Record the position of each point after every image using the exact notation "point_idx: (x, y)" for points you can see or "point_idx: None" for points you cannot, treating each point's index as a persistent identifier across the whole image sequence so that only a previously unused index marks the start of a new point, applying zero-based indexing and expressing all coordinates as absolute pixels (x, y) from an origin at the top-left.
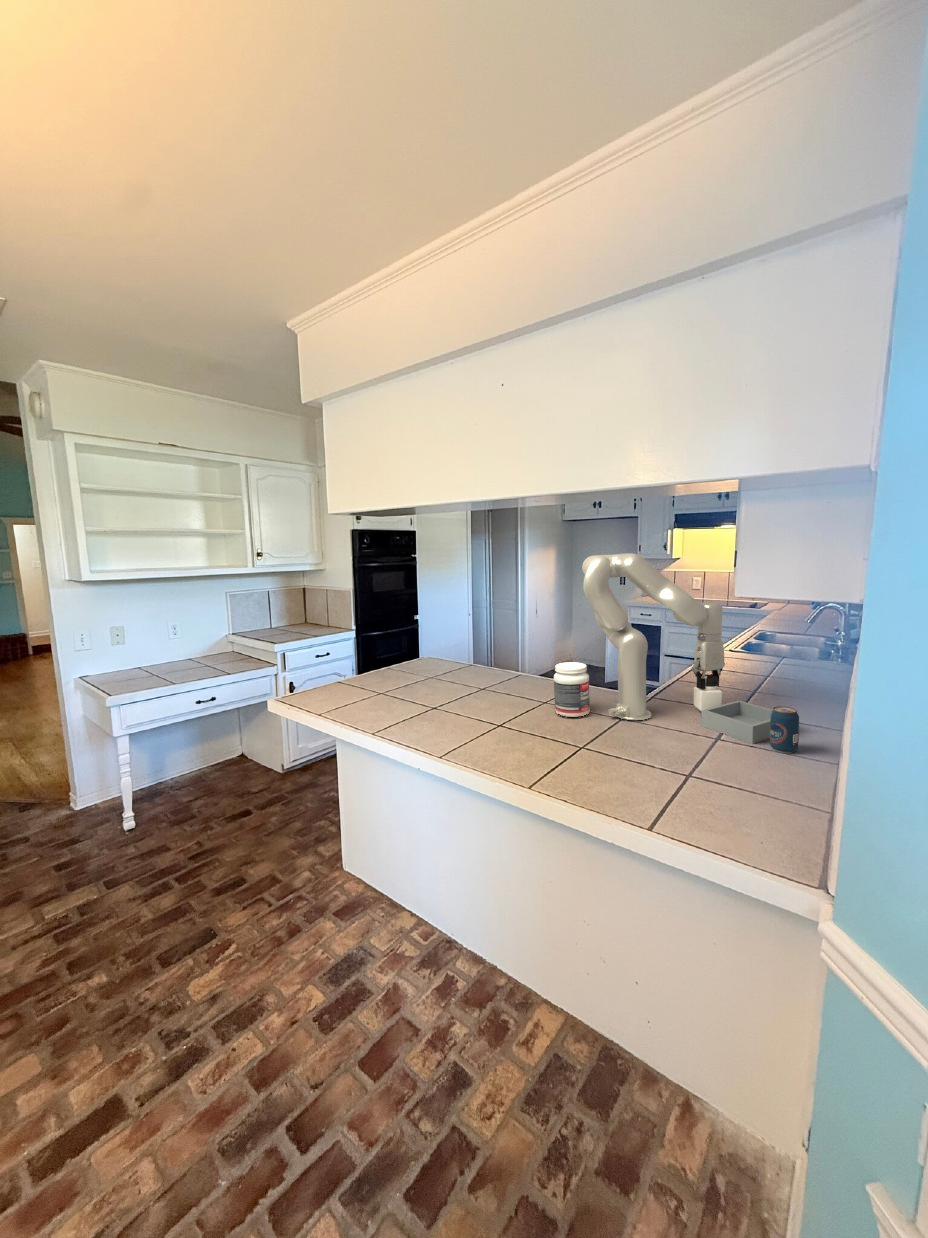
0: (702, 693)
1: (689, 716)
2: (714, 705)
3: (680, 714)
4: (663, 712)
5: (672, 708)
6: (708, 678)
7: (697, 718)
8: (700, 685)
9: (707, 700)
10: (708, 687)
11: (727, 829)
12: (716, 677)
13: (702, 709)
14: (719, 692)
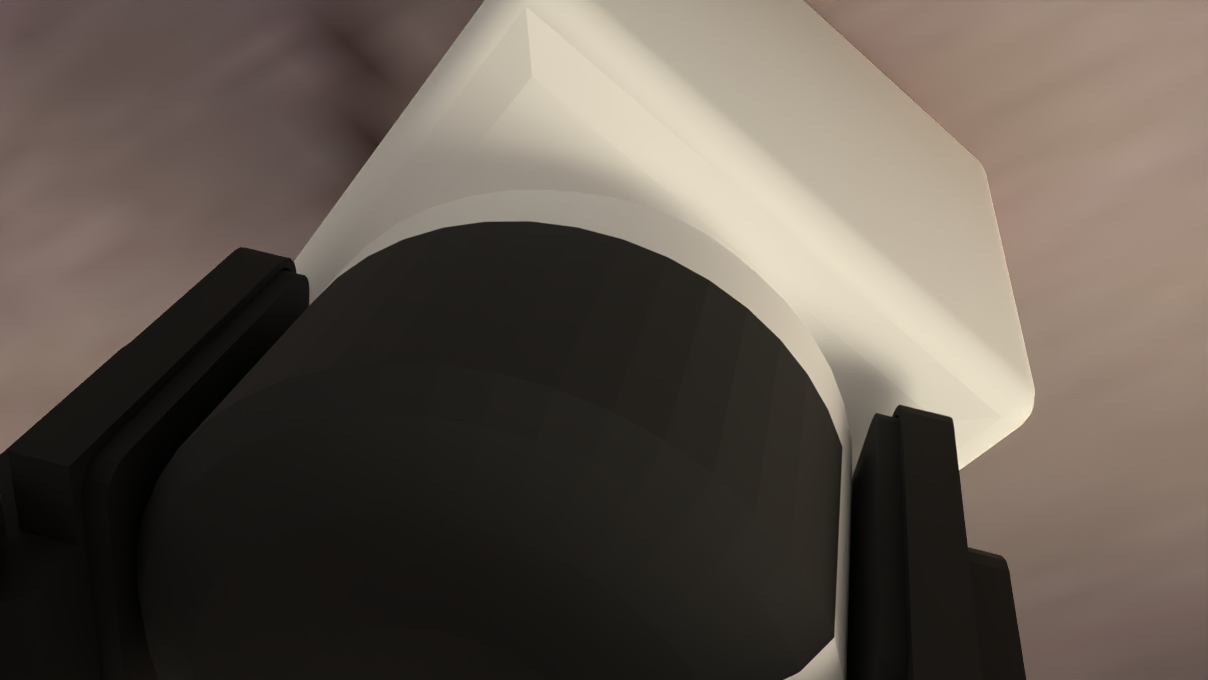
0: (1019, 360)
1: (1148, 263)
2: (762, 4)
3: (1127, 418)
4: (1189, 636)
5: None
6: (756, 617)
7: (1184, 101)
8: (1001, 591)
9: (894, 170)
10: (813, 363)
11: None
12: (305, 445)
13: (967, 159)
14: (606, 13)
